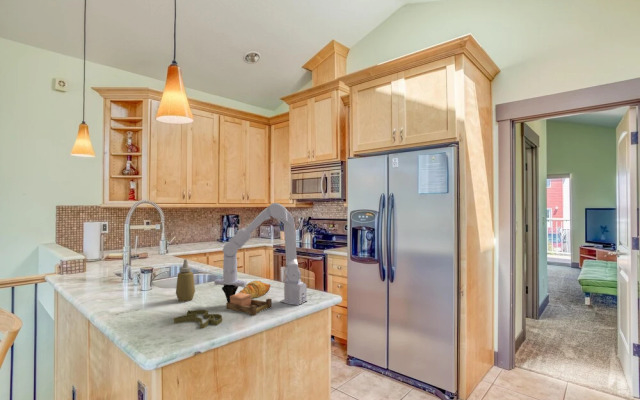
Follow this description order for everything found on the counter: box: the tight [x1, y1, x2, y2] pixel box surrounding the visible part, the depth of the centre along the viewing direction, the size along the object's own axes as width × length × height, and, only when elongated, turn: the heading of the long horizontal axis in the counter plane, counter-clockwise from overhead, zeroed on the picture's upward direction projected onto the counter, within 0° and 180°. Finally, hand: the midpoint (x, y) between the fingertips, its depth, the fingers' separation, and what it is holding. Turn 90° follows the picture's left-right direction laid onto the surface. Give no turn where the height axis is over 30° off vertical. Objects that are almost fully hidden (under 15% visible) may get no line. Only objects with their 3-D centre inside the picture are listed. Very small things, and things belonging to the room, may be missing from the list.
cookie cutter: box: [173, 309, 223, 329], centre depth 124 cm, size 18×12×2 cm, turn 65°
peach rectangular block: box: [230, 292, 252, 306], centre depth 139 cm, size 6×6×4 cm
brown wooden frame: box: [225, 298, 272, 316], centre depth 138 cm, size 15×11×4 cm
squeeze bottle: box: [175, 258, 196, 302], centre depth 150 cm, size 8×8×18 cm
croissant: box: [238, 280, 271, 299], centre depth 157 cm, size 21×10×8 cm, turn 147°
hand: (230, 302), depth 142 cm, fingers closed
